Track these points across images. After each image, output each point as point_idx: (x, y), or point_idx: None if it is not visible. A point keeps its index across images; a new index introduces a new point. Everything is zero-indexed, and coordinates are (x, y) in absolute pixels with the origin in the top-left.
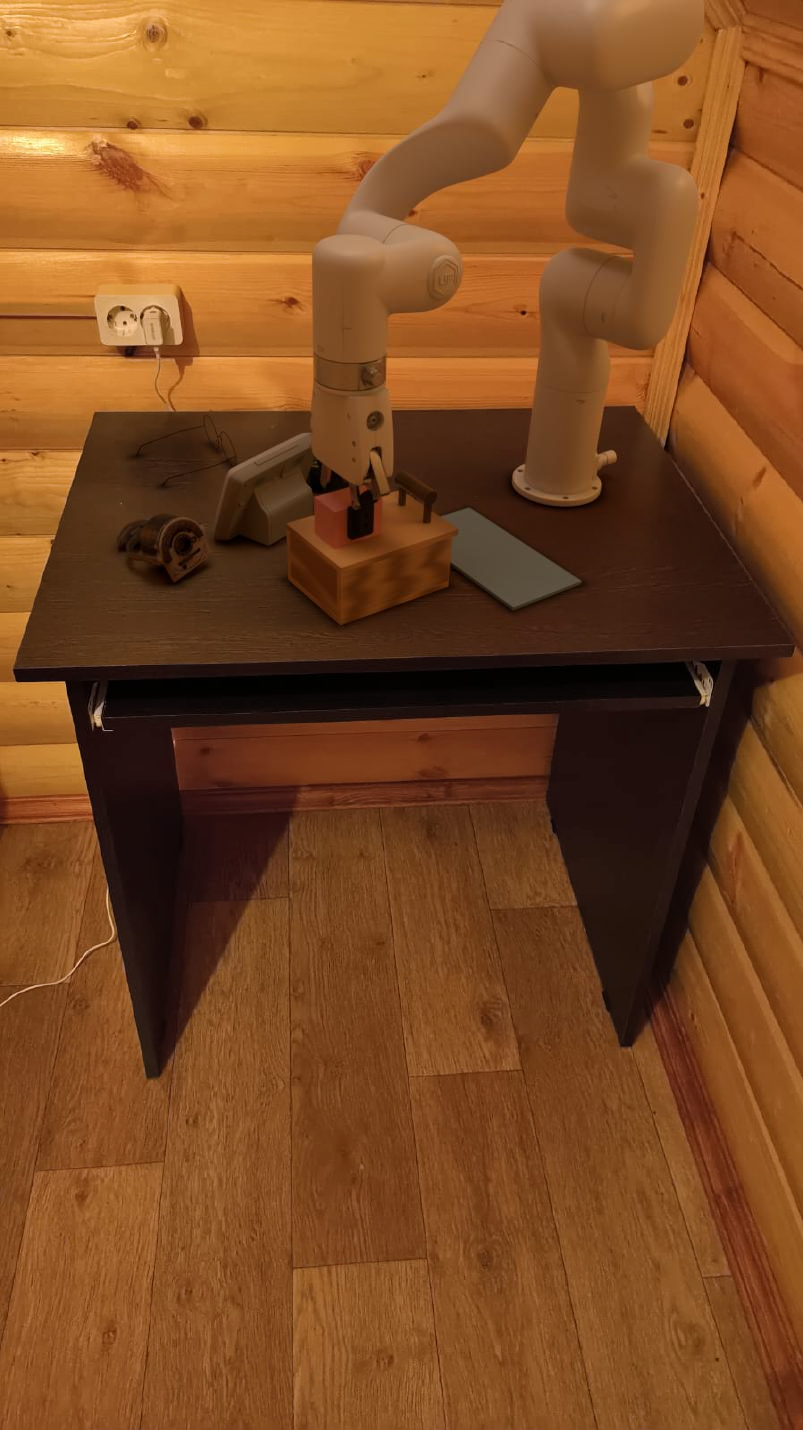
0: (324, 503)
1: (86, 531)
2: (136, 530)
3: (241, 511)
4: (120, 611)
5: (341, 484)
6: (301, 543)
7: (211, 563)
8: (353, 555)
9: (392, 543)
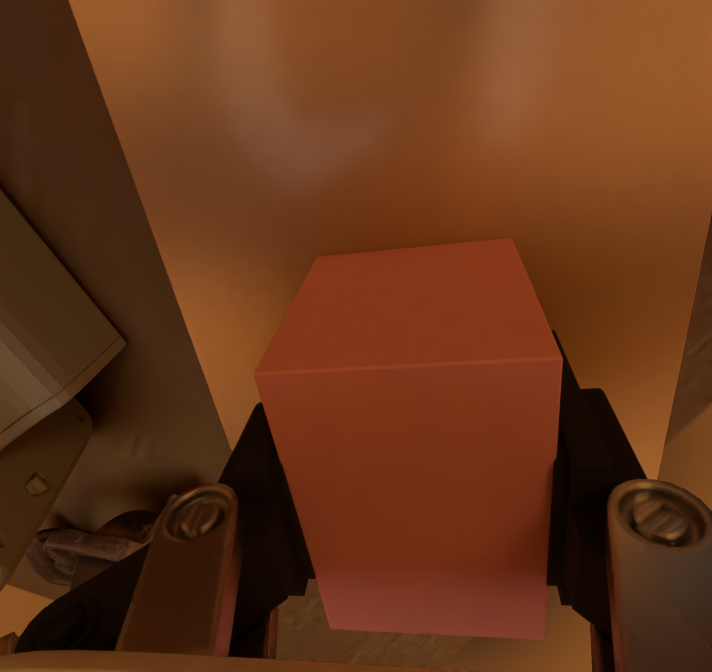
0: (424, 630)
1: (25, 574)
2: (64, 568)
3: (39, 448)
4: (302, 618)
5: (276, 525)
6: None
7: (180, 468)
8: None
9: (635, 230)
